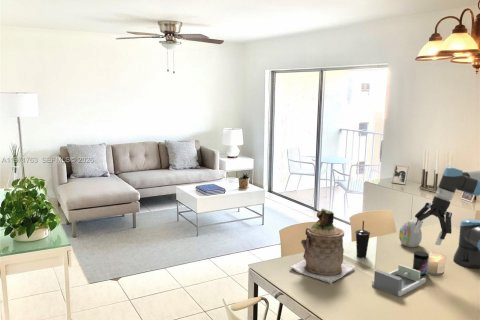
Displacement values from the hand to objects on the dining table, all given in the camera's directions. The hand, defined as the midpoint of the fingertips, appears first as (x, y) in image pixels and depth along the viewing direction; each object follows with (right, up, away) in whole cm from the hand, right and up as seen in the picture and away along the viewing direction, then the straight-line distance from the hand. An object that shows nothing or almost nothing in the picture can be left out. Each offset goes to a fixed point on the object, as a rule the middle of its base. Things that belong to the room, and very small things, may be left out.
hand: (426, 238), depth 199 cm
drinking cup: (-25, -14, +23) cm, 37 cm away
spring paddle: (-12, -18, -6) cm, 23 cm away
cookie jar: (-50, -17, +5) cm, 53 cm away
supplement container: (-3, -18, +2) cm, 18 cm away
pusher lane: (-17, -19, -10) cm, 28 cm away
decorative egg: (+9, -12, +41) cm, 44 cm away
